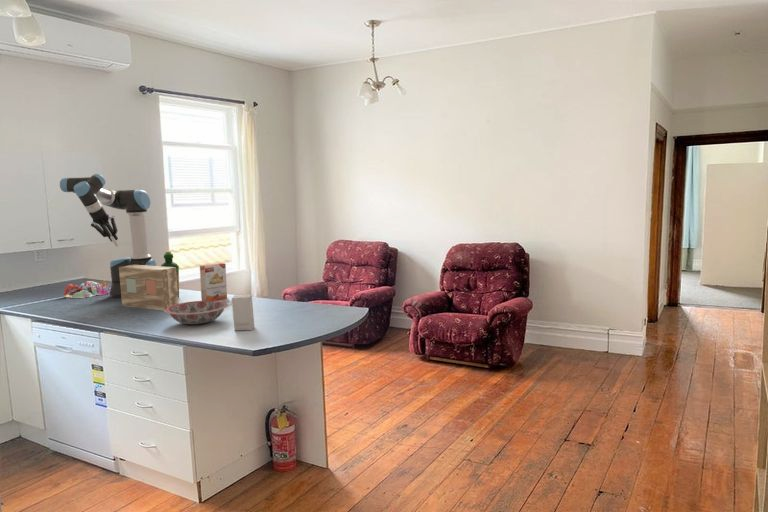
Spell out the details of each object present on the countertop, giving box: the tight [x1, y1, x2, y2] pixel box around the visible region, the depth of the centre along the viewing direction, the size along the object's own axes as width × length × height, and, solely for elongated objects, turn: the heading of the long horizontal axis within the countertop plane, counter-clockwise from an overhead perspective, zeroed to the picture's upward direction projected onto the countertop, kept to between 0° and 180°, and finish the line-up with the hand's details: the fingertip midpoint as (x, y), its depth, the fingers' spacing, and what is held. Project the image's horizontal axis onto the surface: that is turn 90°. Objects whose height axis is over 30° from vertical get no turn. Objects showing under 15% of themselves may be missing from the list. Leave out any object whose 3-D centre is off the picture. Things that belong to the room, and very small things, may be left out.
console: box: [119, 265, 180, 311], centre depth 316 cm, size 10×34×22 cm, turn 62°
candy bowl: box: [63, 279, 111, 299], centre depth 357 cm, size 25×24×9 cm
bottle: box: [160, 250, 180, 298], centre depth 337 cm, size 11×11×28 cm
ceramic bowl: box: [164, 300, 229, 325], centre depth 275 cm, size 29×29×8 cm
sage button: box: [126, 278, 137, 293], centre depth 317 cm, size 3×8×8 cm, turn 62°
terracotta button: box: [145, 279, 157, 295], centre depth 309 cm, size 3×8×8 cm, turn 62°
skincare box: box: [231, 294, 255, 331], centre depth 259 cm, size 8×7×16 cm
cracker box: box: [199, 262, 228, 301], centre depth 330 cm, size 14×6×21 cm, turn 141°
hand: (117, 244), depth 314 cm, fingers closed
